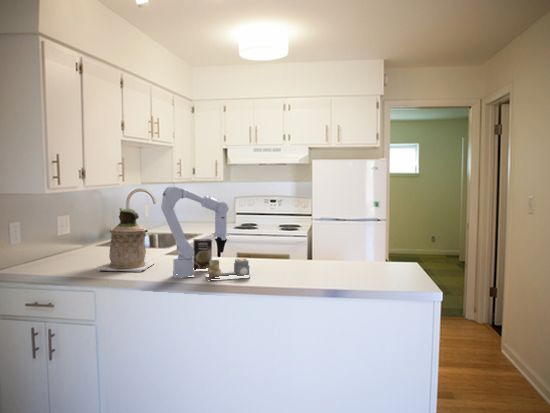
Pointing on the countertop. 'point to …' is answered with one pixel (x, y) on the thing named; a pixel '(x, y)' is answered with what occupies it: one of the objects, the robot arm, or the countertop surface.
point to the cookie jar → (127, 245)
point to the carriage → (214, 268)
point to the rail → (224, 274)
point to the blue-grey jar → (241, 267)
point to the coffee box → (202, 253)
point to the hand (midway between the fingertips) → (220, 252)
